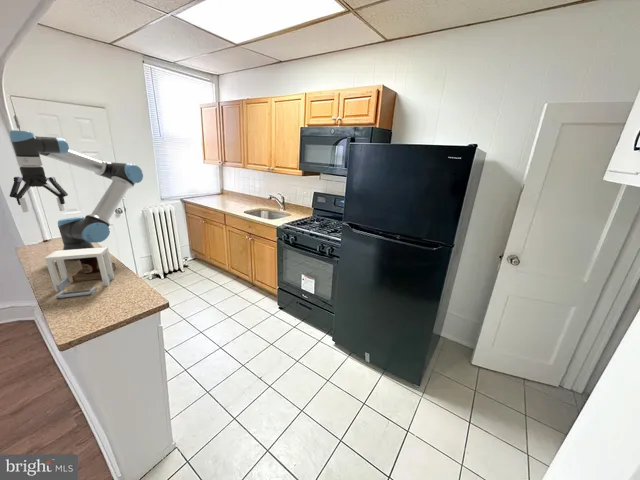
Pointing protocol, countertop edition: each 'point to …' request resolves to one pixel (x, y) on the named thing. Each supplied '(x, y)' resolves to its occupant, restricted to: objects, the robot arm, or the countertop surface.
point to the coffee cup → (90, 265)
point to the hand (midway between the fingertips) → (44, 211)
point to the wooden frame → (80, 276)
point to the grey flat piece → (75, 293)
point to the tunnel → (75, 254)
